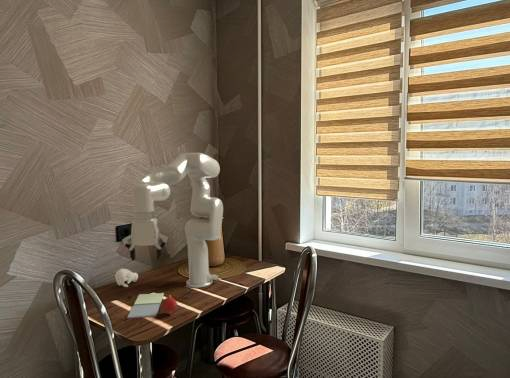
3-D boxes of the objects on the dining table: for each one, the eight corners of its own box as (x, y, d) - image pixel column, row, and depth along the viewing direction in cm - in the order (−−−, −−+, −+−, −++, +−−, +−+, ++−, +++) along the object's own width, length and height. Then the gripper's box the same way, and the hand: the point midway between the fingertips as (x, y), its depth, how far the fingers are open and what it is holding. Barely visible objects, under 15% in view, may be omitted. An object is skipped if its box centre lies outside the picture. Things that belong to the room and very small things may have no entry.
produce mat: (163, 294, 179) (163, 292, 179) (160, 303, 168) (160, 302, 168) (139, 295, 178) (139, 294, 178) (134, 305, 167) (134, 304, 167)
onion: (159, 316, 156) (158, 297, 155) (167, 310, 161) (166, 291, 160) (172, 318, 153) (171, 298, 153) (180, 312, 159) (179, 293, 158)
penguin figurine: (113, 269, 189) (132, 264, 200) (113, 286, 190) (132, 281, 200) (122, 271, 186) (141, 266, 197) (122, 289, 186) (141, 283, 197)
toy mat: (159, 305, 167) (159, 303, 167) (155, 316, 156) (155, 315, 156) (133, 306, 166) (133, 305, 166) (127, 318, 155) (127, 316, 155)
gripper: (168, 213, 156) (170, 255, 158) (123, 215, 155) (126, 257, 157) (165, 216, 149) (167, 261, 150) (118, 218, 147) (121, 263, 149)
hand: (146, 259), depth 154 cm, fingers open, 9 cm apart
